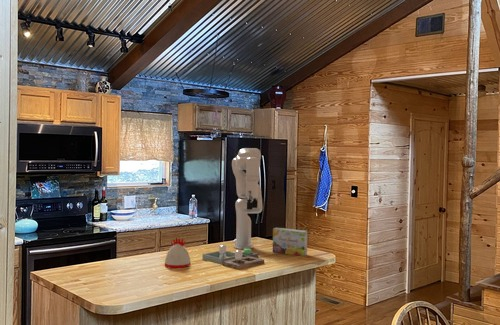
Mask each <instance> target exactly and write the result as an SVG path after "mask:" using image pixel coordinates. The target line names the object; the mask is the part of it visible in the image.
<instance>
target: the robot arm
mask: <svg viewBox="0 0 500 325" xmlns="http://www.w3.org/2000/svg"><path fill="white" fill-rule="evenodd" d="M261 159H262V154H261V150H260V149H258V147H257V148H256V147H254V148H253V147H252V148H251V147H250V148H249V147H244V148H241V149H239V151H238V153H237V155H236V156H235V157H234V158H233V159H232V160H231V168H232V173H233V175H234V177H235V186H236V195H237V197H238V199H237V200H236V201H235V213H236V229H235V230H236V232H235V233H236V234H235V236H236V237H235V239H234V240H232V243H235V244H233V248H235V249H236V250H244V249H251V250H252V249H253V248H254V244H252V220H251V217H250V216H249V215H248V214H261V212H262V211H263V197H262V188H261V185H260V184H259V182H260V167H261Z"/></svg>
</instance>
